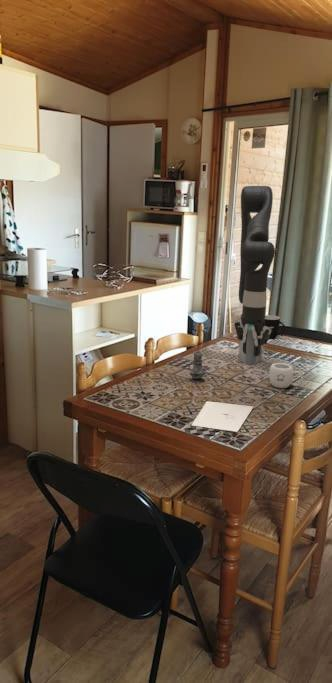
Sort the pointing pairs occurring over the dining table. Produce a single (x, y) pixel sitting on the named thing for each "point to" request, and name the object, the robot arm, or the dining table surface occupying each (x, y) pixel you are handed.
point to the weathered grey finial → (197, 368)
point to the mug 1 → (273, 325)
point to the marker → (250, 347)
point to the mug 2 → (282, 375)
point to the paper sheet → (222, 416)
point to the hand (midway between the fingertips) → (251, 354)
